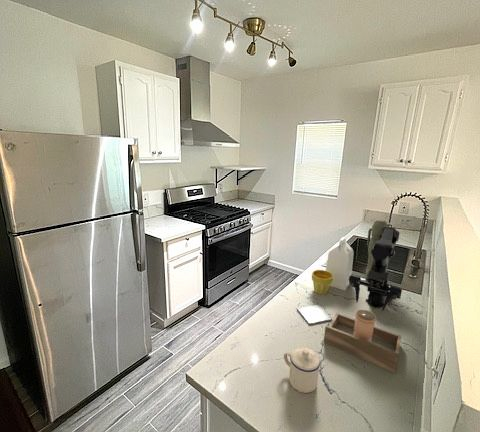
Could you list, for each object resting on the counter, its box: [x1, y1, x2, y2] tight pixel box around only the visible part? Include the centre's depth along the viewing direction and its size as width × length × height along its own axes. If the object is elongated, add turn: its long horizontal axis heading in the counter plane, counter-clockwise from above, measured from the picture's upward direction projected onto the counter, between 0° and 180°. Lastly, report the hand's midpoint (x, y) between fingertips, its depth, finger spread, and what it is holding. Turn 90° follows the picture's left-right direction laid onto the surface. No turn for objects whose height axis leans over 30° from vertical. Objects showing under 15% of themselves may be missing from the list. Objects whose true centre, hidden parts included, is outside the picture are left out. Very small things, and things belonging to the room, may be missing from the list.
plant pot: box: [311, 269, 333, 295], centre depth 135 cm, size 10×10×10 cm
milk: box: [325, 236, 354, 291], centre depth 142 cm, size 12×12×26 cm
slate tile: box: [296, 304, 333, 326], centre depth 116 cm, size 11×11×1 cm
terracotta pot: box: [352, 309, 377, 343], centre depth 97 cm, size 7×7×13 cm
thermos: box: [364, 220, 389, 281], centre depth 141 cm, size 9×12×35 cm
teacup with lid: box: [283, 346, 321, 394], centre depth 83 cm, size 12×9×12 cm
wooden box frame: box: [323, 312, 402, 374], centre depth 99 cm, size 16×24×7 cm, turn 55°
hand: (369, 306), depth 101 cm, fingers open, 9 cm apart
